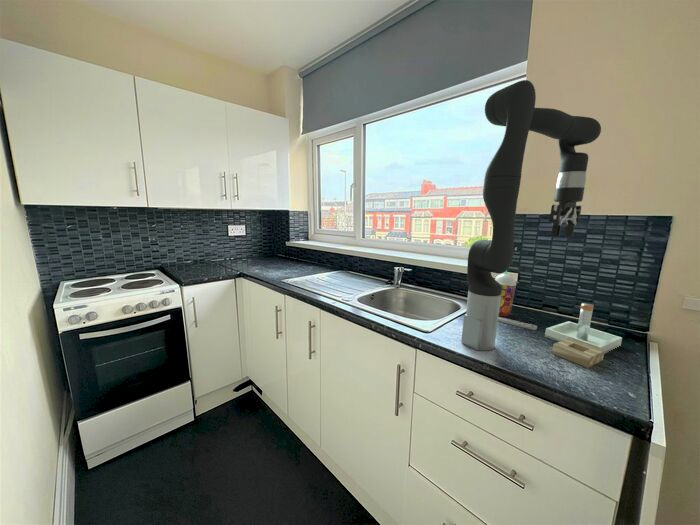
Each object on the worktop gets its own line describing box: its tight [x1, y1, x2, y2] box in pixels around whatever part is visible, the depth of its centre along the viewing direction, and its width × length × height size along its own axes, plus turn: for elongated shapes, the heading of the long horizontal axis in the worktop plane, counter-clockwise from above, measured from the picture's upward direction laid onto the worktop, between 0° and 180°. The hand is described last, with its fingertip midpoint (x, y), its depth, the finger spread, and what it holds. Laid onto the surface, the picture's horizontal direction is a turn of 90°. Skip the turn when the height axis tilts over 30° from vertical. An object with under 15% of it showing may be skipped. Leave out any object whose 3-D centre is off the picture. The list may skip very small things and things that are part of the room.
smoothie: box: [494, 270, 517, 317], centre depth 115 cm, size 8×8×20 cm
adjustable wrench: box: [498, 316, 538, 331], centre depth 109 cm, size 25×6×2 cm, turn 47°
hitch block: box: [551, 338, 605, 369], centre depth 83 cm, size 9×9×3 cm
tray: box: [544, 320, 623, 355], centre depth 93 cm, size 15×15×3 cm
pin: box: [576, 302, 595, 341], centre depth 92 cm, size 3×3×12 cm
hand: (562, 236), depth 95 cm, fingers open, 8 cm apart
